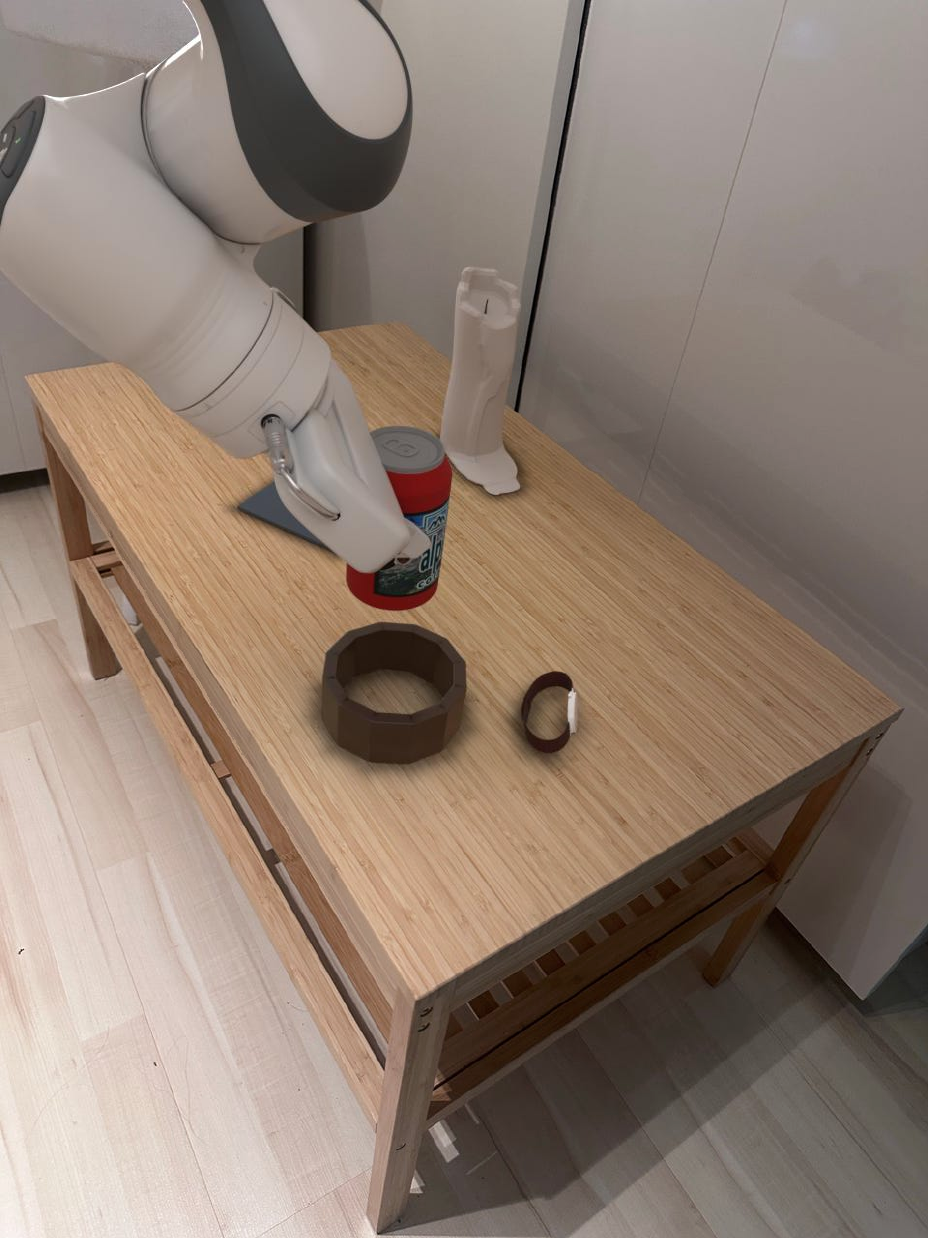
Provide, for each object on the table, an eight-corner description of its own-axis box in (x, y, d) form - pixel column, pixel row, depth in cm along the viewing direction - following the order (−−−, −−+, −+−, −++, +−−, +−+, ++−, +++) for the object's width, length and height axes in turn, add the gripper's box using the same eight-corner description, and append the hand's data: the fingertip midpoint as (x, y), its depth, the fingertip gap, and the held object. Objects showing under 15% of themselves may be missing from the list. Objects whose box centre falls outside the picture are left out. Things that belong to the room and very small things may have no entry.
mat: (237, 509, 86) (237, 505, 86) (309, 460, 94) (309, 456, 94) (337, 554, 83) (337, 550, 82) (402, 499, 91) (403, 495, 91)
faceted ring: (294, 722, 66) (294, 681, 63) (371, 644, 74) (374, 604, 71) (414, 786, 63) (420, 746, 60) (482, 697, 71) (490, 658, 68)
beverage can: (402, 632, 60) (417, 486, 52) (326, 592, 62) (329, 446, 55) (454, 586, 65) (475, 445, 57) (381, 549, 67) (392, 409, 59)
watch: (572, 765, 66) (582, 734, 64) (512, 752, 67) (520, 721, 64) (579, 695, 72) (588, 664, 70) (524, 683, 72) (531, 652, 70)
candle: (478, 498, 93) (507, 316, 80) (429, 434, 102) (448, 261, 89) (537, 489, 95) (574, 312, 82) (484, 428, 105) (510, 259, 92)
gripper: (324, 436, 42) (486, 577, 51) (273, 276, 56) (407, 408, 66) (234, 517, 44) (407, 639, 53) (207, 342, 58) (347, 462, 67)
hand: (406, 510), depth 59 cm, fingers closed on beverage can, 7 cm apart
